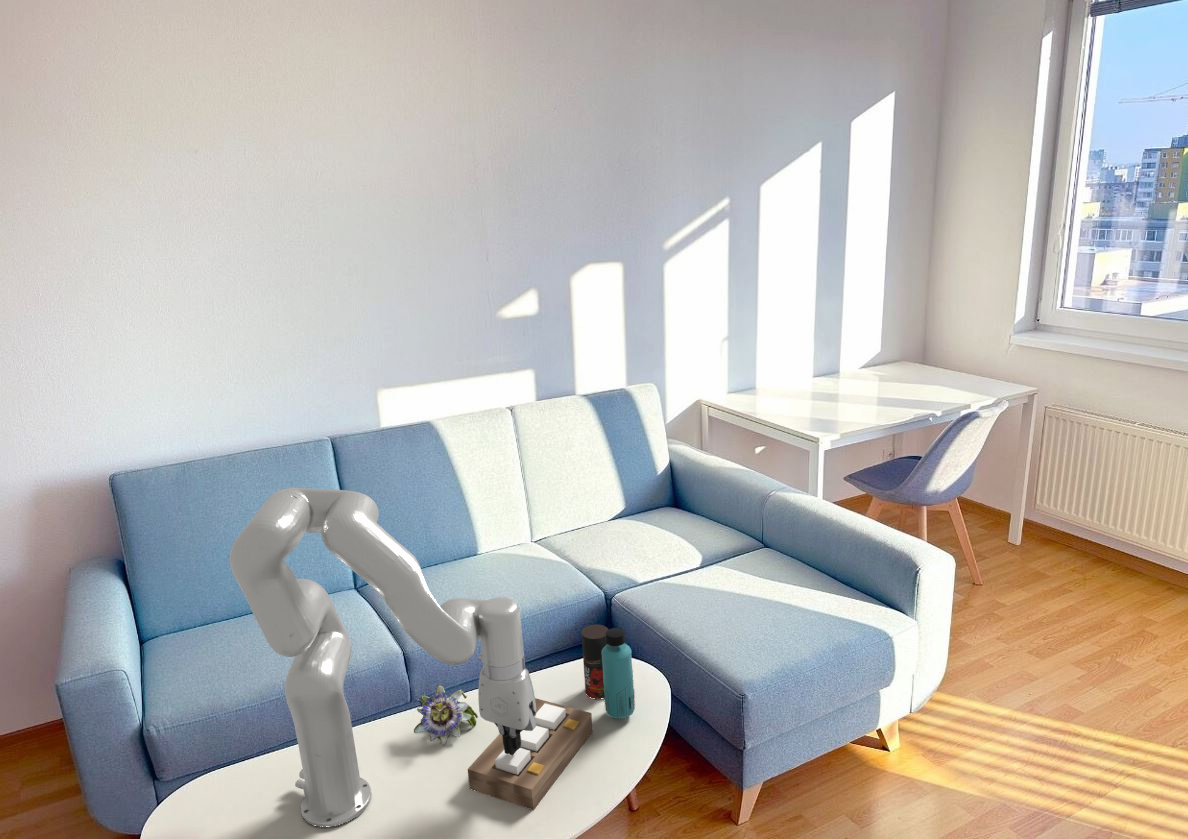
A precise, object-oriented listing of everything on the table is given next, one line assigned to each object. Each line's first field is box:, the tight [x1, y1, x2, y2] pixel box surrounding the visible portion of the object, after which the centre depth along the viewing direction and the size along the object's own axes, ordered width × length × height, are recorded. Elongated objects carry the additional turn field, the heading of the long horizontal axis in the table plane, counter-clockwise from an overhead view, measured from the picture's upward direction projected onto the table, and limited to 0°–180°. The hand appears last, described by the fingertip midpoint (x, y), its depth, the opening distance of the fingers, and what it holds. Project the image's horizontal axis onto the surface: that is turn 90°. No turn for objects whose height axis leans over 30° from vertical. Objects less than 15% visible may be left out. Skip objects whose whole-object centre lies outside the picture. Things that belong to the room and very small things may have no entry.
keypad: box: [467, 697, 594, 811], centre depth 164 cm, size 14×24×5 cm, turn 153°
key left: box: [495, 748, 531, 775], centre depth 157 cm, size 5×5×2 cm
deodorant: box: [581, 624, 609, 700], centre depth 183 cm, size 6×6×15 cm
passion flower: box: [413, 684, 479, 746], centre depth 174 cm, size 11×11×12 cm
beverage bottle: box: [601, 627, 636, 719], centre depth 174 cm, size 6×7×20 cm
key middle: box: [520, 726, 549, 752], centre depth 163 cm, size 5×5×2 cm
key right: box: [534, 703, 566, 730], centre depth 169 cm, size 5×5×2 cm
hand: (512, 749), depth 157 cm, fingers closed
